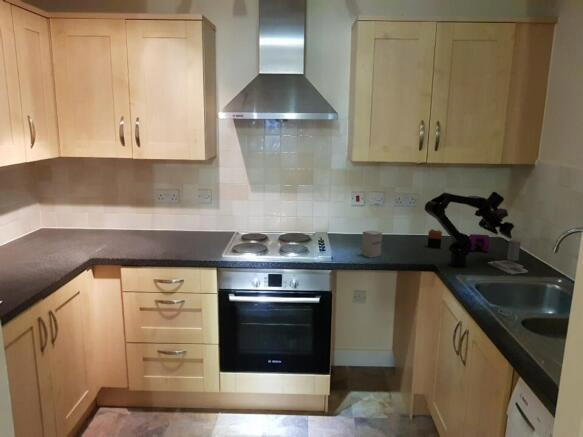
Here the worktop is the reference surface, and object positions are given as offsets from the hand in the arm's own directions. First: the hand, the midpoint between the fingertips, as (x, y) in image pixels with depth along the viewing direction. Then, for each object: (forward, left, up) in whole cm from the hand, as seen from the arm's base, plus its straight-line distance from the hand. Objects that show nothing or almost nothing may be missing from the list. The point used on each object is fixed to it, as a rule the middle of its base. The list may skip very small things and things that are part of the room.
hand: (503, 235), depth 234 cm
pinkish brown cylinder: (-61, +25, -13) cm, 67 cm away
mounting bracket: (+3, +24, -14) cm, 28 cm away
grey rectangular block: (+7, 0, -13) cm, 15 cm away
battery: (-19, +31, -13) cm, 39 cm away
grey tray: (-6, -11, -13) cm, 18 cm away
